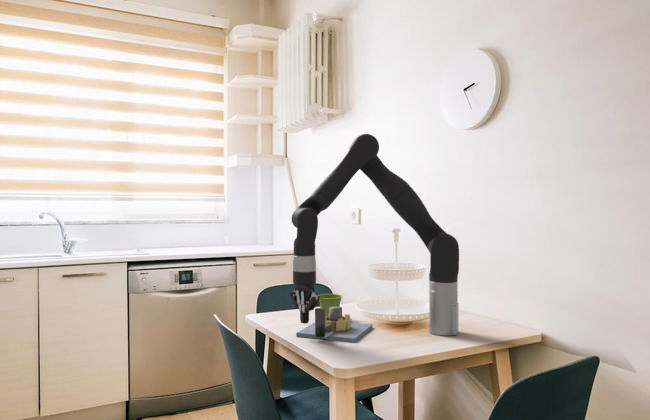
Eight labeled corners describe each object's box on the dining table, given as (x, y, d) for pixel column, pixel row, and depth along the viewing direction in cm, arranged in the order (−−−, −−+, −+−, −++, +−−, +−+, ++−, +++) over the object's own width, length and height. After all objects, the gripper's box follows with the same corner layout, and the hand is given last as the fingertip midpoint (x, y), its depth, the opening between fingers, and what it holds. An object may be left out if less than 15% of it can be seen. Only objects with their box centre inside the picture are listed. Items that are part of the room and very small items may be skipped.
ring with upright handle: (328, 323, 171) (328, 298, 171) (355, 325, 167) (354, 300, 167) (303, 335, 154) (303, 308, 154) (332, 338, 150) (332, 311, 150)
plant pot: (342, 321, 180) (342, 298, 180) (317, 321, 180) (316, 298, 180) (342, 316, 189) (342, 293, 189) (317, 316, 189) (317, 293, 189)
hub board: (372, 327, 170) (372, 304, 170) (352, 344, 149) (352, 317, 149) (319, 323, 177) (319, 300, 177) (293, 337, 157) (293, 312, 157)
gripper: (326, 270, 155) (326, 324, 155) (300, 266, 165) (300, 317, 165) (308, 272, 150) (308, 328, 150) (282, 268, 160) (282, 321, 160)
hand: (304, 322), depth 158 cm, fingers closed
